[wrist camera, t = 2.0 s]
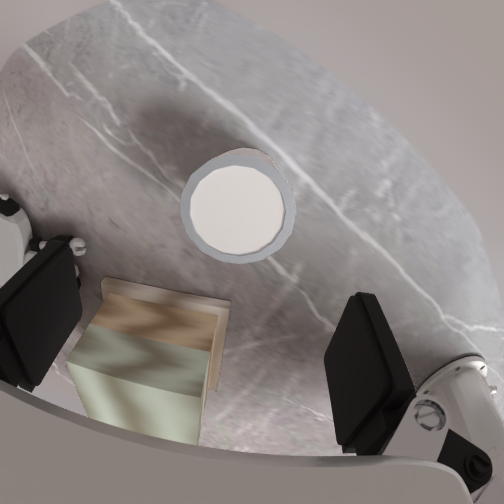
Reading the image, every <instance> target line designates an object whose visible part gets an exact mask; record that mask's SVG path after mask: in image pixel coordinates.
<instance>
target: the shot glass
mask: <svg viewBox="0 0 504 504" xmlns="http://www.w3.org/2000/svg"><path fill="white" fill-rule="evenodd" d="M296 212H297V209H296V205H295V200H294V195H293V191H292V188H291V186H290V185H289V183H288V182H287V180H286V179H285V177H284V176H283V174H282V173H281V171H280V170H279V168H278V167H277V166H276V164H275V163H274V162H273V160H272V159H271V158H270V156H268V155H266V154H264V153H263V152H261V151H259V150H258V149H252V148H244V147H242V148H238V149H234V150H230V151H228V152H225V153H223V154H221V155H219V156H217V157H215V158H213V159H211V160H209V161H208V162H206V163H205V164H204V165H202V166H201V167H200V168H199V169H197V170H196V171H195V172H194V173H192V174H191V176H190V178H189V180H188V182H187V184H186V185H185V187H184V189H183V191H182V193H181V205H180V217H181V220H182V223H183V225H184V228H185V231H186V234H187V236H188V237H189V238H190V239H191V240H192V241H193V242H194V244H195V245H196V246H197V247H198V248H199V249H200V250H201V251H202V252H204V253H206V254H207V255H209V256H211V257H213V258H215V259H217V260H219V261H222V262H229V263H235V264H246V263H251V262H256V261H261V260H263V259H265V258H266V257H268V256H270V255H271V254H273V253H274V252H276V251H278V250H279V249H280V248H281V247H282V246H283V244H284V243H285V241H286V240H287V239H288V237H289V236H290V234H291V233H292V231H293V226H294V222H295V217H296Z"/></svg>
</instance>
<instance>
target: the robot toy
mask: <svg viewBox="0 0 504 504" xmlns="http://www.w3.org/2000/svg"><path fill="white" fill-rule="evenodd" d="M52 240H58V241H63V242H67V243H68V244H69V247H71V248H72V250H73V254H74V255H76V256H80V255H84V254H85V252H86V248H84V246H85V242H84V240H83V239H80V238H74V239H73V236H69V235H58V236H56V237H54V238H52V239H50V240H49V241H43V239H42V237H34V238H33V236H32V229H31V225H30V222H29V219H28V217H27V215H26V213H25V211H24V209H22V208H20V206H19V204H18V203H16V202H15V201H14V200H12V199H11V198H9V195H8V194H0V286H1V287H2V286H3V285H4V284H5V283H6V282H7V281H8V280H9V279H10V278H11V277H12V276H13V275H14V274H15V273H16V272H17V271H18V270H19V269H20V268H22V267H23V266H24V265H25V264H26V263H27V262H28V261H29V260H30V259H31V258H32V257H33V256H34V255H36V254H37V253H38V252H39V251H40V250H41V249H42V248H43V247H44V246H46V245H47V244H48V243H49V242H50V241H52ZM75 270H76V277H77V283H78V289H80V286H81V282H80V279H79V277H78V275H79V274H80V273H79V270H78V267H77V266H76V265H75Z"/></svg>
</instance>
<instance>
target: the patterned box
mask: <svg viewBox="0 0 504 504" xmlns="http://www.w3.org/2000/svg"><path fill="white" fill-rule="evenodd" d="M101 290H102V298H103V304H102V306H101V307H100V309H99V310H98V312H97V313H96V315H95V316H94V318H93V319H92V321H91V322H90V324H89V325H88V327H87V328H86V330H85V331H84V333H83V334H82V336H81V338H80V339H79V341H78V342H77V344H76V345H75V347H74V349H73V350H72V352H71V353H70V355H69V357H68V358H67V360H66V363H67V366H68V369H69V371H70V374H71V377H72V379H73V382H74V384H75V387H76V389H77V392H78V394H79V396H80V399H81V401H82V403H83V406H84V408H85V410H86V413H87V415H88V417H89V418H92V419H94V420H97V421H100V422H104V423H107V424H110V425H113V426H116V427H120V428H123V429H127V430H130V431H134V432H138V433H142V434H145V435H149V436H154V437H158V438H162V439H167V440H171V441H176V442H181V443H186V444H191V445H197V446H198V442H199V436H200V431H201V425H202V420H203V414H204V409H205V404H206V398H207V393H208V390H213V391H217V386H218V380H219V373H220V367H221V361H222V355H223V349H224V342H225V336H226V330H227V324H228V318H229V312H230V306H231V301H226V300H220V299H214V298H209V297H203V296H198V295H192V294H187V293H182V292H177V291H172V290H167V289H162V288H157V287H152V286H147V285H142V284H138V283H133V282H128V281H124V280H119V279H115V278H110V277H105V278H104V279H103V280H102V282H101Z"/></svg>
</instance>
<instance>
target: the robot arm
mask: <svg viewBox="0 0 504 504" xmlns="http://www.w3.org/2000/svg"><path fill="white" fill-rule="evenodd" d="M81 316H82V305H81V300H80V294H79V289H78V283H77V277H76V270H75V263H74V256H73V250H72V248H71V247H69V244H68V243H67V242H63V241H58V240H52V241H50V242H49V243H48V244H47V245H46V246H44V247H43V248H42V249H41V250H40V251H39V252H38V253H37V254H36V255H34V256H33V257H32V258H31V259H30V260H29V261H28V262H27V263H26V264H25V265H24V266H23V267H22V268H20V269H19V270H18V271H17V272H16V273H15V274H14V275H13V276H12V277H11V278H10V279H9V280H8V281H7V282H6V283H5V284H4V285H3V286H2V287H1V288H0V504H504V421H503V419H502V416H501V414H500V412H499V410H498V408H497V406H496V404H495V402H494V400H493V395H492V394H494V393H496V391H497V387H496V386H495V385H493V386H489V385H488V384H487V382H486V380H485V378H486V375H487V372H488V367H487V364H486V362H485V361H484V359H482V358H481V357H478V356H470V357H464V358H462V359H459V360H456V361H454V362H452V363H450V364H448V365H446V366H445V367H443V368H441V369H440V370H438V371H437V372H436V373H434V374H433V375H432V376H431V377H429V378H428V379H427V380H426V381H425V382H424V383H423V385H422V386H421V387H420V388H419V390H418V391H417V393H415V387H414V385H413V382H412V380H411V377H410V375H409V372H408V369H407V367H406V364H405V362H404V360H403V357H402V355H401V352H400V350H399V348H398V345H397V343H396V340H395V338H394V336H393V334H392V331H391V329H390V327H389V324H388V322H387V320H386V318H385V316H384V313H383V311H382V309H381V307H380V305H379V302H378V300H377V298H376V296H375V295H374V294H370V293H363V292H357V293H356V294H355V296H350V298H349V300H348V302H347V305H346V307H345V309H344V312H343V314H342V317H341V319H340V321H339V323H338V326H337V328H336V330H335V333H334V335H333V337H332V339H331V341H330V344H329V346H328V348H327V350H326V352H325V356H324V365H325V370H326V376H327V382H328V388H329V394H330V400H331V407H332V413H333V420H334V426H335V433H336V440H337V443H338V445H342V451H343V454H344V453H356V455H357V456H289V455H271V454H258V453H247V452H238V451H230V450H223V449H216V448H209V447H203V446H197V445H191V444H186V443H181V442H176V441H171V440H167V439H162V438H158V437H154V436H149V435H145V434H142V433H138V432H134V431H130V430H127V429H123V428H120V427H116V426H113V425H110V424H107V423H104V422H100V421H97V420H94V419H92V418H89V417H86V416H83V415H80V414H77V413H75V412H72V411H69V410H67V409H64V408H62V407H59V406H57V405H54V404H51V403H49V402H47V401H44V400H42V399H40V398H38V397H35V396H33V395H31V394H29V393H27V392H25V391H22V390H21V389H18V388H16V387H17V386H18V385H19V386H20V387H21V388H23V389H25V390H27V391H29V392H31V393H32V391H33V389H34V388H35V386H38V385H40V383H41V382H42V380H43V378H44V376H45V375H46V373H47V371H48V370H49V368H50V366H51V365H52V363H53V361H54V360H55V358H56V356H57V355H58V353H59V351H60V350H61V348H62V347H63V345H64V343H65V342H66V340H67V339H68V337H69V336H70V334H71V332H72V331H73V329H74V328H75V326H76V325H77V323H78V322H79V320H80V319H81Z"/></svg>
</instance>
